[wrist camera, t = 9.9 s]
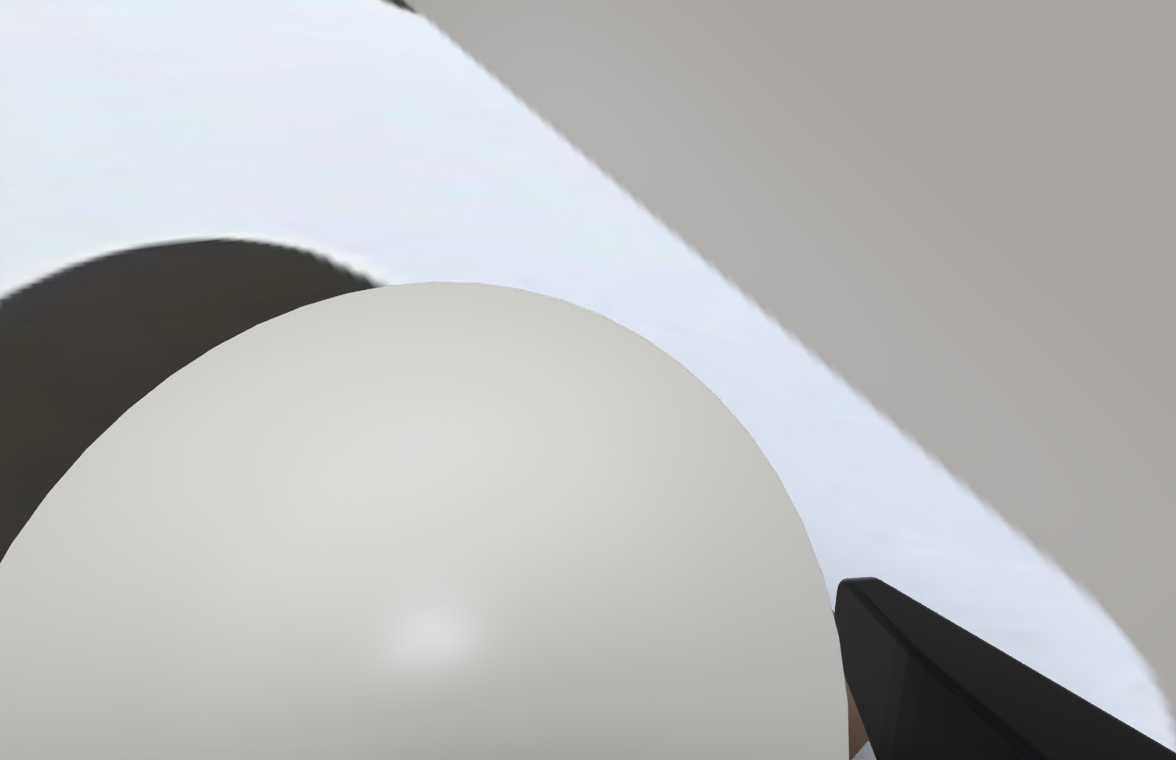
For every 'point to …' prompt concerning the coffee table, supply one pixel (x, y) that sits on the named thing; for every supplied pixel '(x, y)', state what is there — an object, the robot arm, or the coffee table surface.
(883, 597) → the robot arm
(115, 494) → the white cylinder
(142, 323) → the coffee table surface
